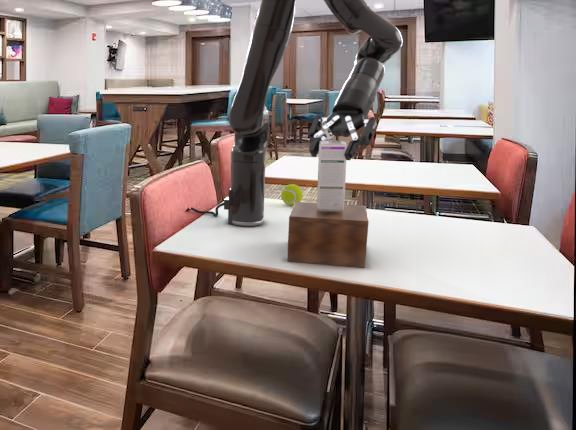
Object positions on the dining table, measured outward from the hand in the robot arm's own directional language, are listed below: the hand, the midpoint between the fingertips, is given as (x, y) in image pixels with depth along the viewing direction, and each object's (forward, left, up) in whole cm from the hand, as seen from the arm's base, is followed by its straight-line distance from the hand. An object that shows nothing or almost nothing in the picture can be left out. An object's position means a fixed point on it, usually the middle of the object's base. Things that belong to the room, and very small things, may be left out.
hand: (329, 156), depth 115 cm
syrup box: (+1, +1, -12) cm, 12 cm away
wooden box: (+1, +1, -22) cm, 22 cm away
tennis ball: (-11, +49, -22) cm, 55 cm away
